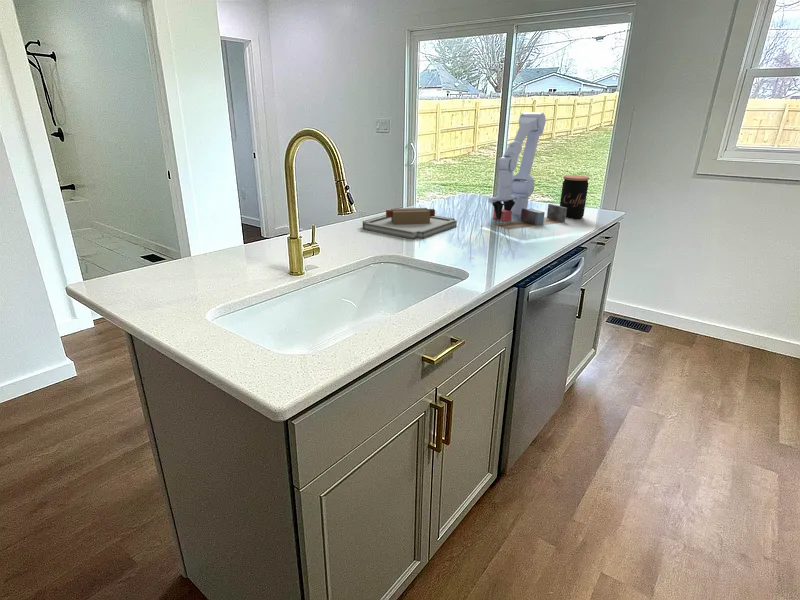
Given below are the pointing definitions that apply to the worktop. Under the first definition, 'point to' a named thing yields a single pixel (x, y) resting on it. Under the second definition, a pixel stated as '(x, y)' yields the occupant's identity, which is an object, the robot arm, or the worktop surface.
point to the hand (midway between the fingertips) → (502, 218)
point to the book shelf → (553, 216)
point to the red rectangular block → (504, 215)
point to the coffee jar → (574, 195)
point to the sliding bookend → (529, 216)
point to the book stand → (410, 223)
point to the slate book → (539, 216)
